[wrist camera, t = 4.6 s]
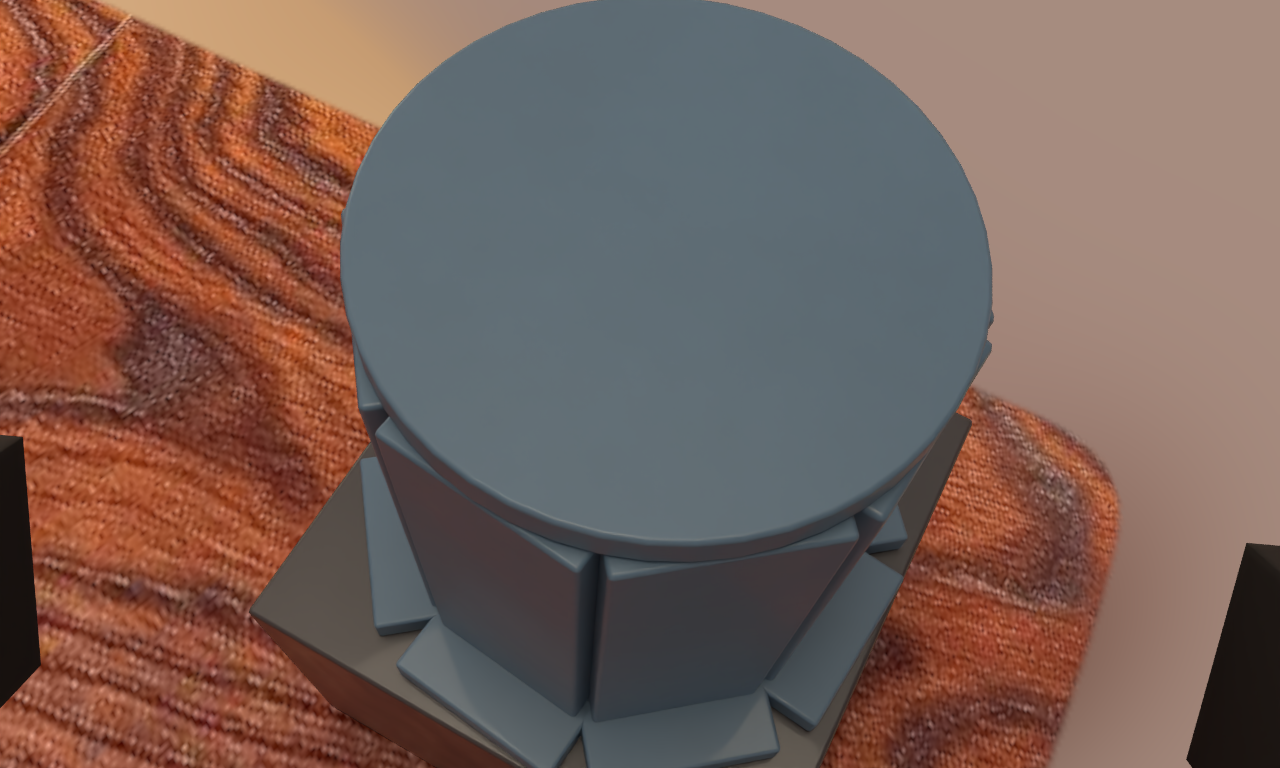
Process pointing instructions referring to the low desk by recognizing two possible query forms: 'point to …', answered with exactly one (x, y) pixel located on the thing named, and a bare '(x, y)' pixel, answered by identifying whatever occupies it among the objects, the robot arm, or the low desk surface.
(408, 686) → the riser
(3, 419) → the low desk surface
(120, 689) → the low desk surface
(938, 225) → the hat
